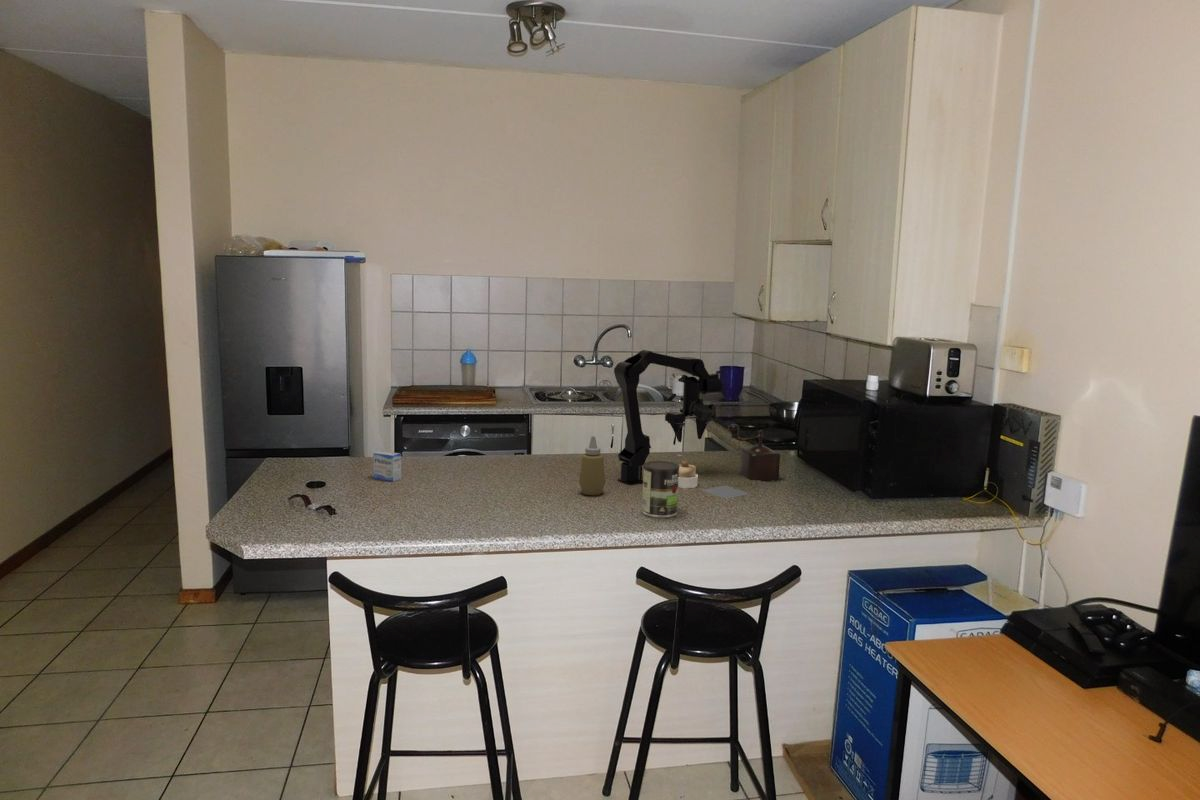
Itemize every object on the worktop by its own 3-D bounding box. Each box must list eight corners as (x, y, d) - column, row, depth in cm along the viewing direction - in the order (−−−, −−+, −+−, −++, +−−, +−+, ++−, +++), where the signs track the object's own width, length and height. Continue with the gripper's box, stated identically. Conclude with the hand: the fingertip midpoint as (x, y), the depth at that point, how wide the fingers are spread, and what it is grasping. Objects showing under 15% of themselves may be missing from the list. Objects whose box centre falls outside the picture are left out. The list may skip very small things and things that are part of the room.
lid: (684, 478, 252) (685, 464, 251) (669, 474, 257) (670, 460, 256) (699, 475, 256) (700, 461, 255) (684, 471, 261) (685, 457, 260)
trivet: (725, 500, 242) (725, 499, 242) (700, 492, 251) (700, 490, 251) (750, 495, 249) (750, 493, 249) (724, 487, 257) (724, 485, 257)
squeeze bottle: (609, 491, 249) (610, 435, 246) (598, 498, 242) (599, 440, 238) (585, 488, 252) (587, 432, 249) (574, 494, 245) (575, 437, 242)
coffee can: (684, 512, 230) (686, 465, 227) (662, 520, 222) (664, 471, 220) (656, 504, 237) (658, 458, 234) (634, 512, 229) (635, 464, 227)
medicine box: (373, 479, 257) (372, 452, 255) (381, 475, 261) (381, 450, 260) (393, 482, 254) (392, 455, 253) (401, 478, 258) (401, 452, 257)
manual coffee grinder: (764, 472, 277) (767, 421, 274) (779, 480, 267) (782, 428, 264) (723, 474, 273) (726, 423, 270) (736, 483, 263) (739, 429, 260)
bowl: (684, 491, 251) (684, 479, 251) (667, 485, 258) (667, 473, 257) (702, 488, 256) (703, 476, 256) (685, 482, 263) (685, 470, 262)
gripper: (688, 400, 255) (686, 448, 257) (728, 396, 266) (726, 441, 269) (664, 395, 264) (663, 441, 266) (705, 391, 275) (703, 435, 277)
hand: (689, 440), depth 269 cm, fingers open, 9 cm apart
